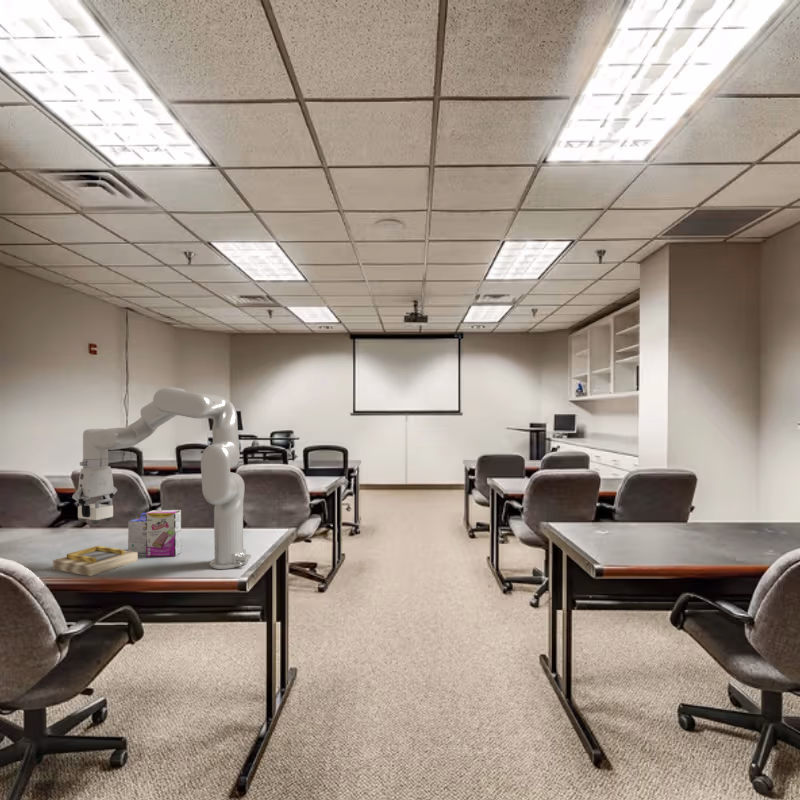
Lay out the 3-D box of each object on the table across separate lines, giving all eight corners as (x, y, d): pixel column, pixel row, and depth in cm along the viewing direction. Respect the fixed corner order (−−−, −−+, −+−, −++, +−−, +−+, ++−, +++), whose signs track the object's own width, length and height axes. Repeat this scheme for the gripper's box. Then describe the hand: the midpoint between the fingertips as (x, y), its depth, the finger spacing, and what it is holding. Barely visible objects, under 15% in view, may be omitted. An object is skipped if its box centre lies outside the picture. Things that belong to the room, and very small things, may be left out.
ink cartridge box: (160, 549, 187) (160, 512, 187) (151, 553, 181) (151, 515, 181) (136, 548, 188) (136, 511, 188) (127, 553, 182) (127, 515, 183)
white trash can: (113, 520, 169) (113, 498, 170) (96, 524, 164) (96, 501, 164) (94, 518, 174) (94, 496, 174) (77, 522, 168) (77, 499, 168)
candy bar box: (145, 557, 176) (145, 512, 176) (152, 553, 181) (152, 510, 181) (175, 556, 176) (175, 512, 176) (181, 552, 181) (181, 509, 181)
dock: (137, 560, 172) (137, 548, 172) (90, 576, 157) (90, 562, 157) (101, 555, 180) (101, 543, 180) (53, 569, 165) (53, 555, 165)
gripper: (77, 466, 160) (77, 520, 159) (125, 461, 176) (125, 510, 175) (63, 466, 163) (63, 519, 163) (112, 460, 179) (112, 509, 178)
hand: (95, 514), depth 169 cm, fingers closed on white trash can, 6 cm apart
